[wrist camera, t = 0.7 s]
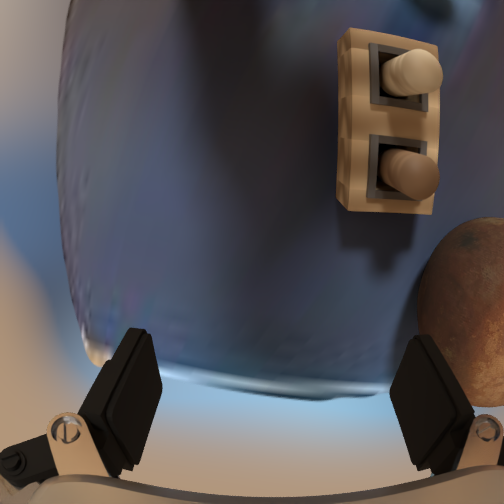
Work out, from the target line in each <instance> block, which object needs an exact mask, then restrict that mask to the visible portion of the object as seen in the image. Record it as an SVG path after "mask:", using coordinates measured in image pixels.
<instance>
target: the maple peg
mask: <svg viewBox="0 0 504 504" xmlns="http://www.w3.org/2000/svg"><path fill="white" fill-rule="evenodd" d="M442 80H443V73H442V69H441V66H440V64H439V62H438V60H437V59H436V58H435V57H434V56H433V55H432V54H431V53H429V52H428V51H425V50H422V49H414V50H411V51H409V52H407V53H404V54H402V55H400V56H398V57H395V58H393V59H391V60H389V61H387V62H385V63H383V64H382V65H381V66H380V67H379V84H380V86H381V88H382V89H383V90H384V91H385V92H386V93H387V94H389V95H391V96H394V97H402V96H409V95H416V94H424V93H431V92H434V91H436V90H437V89H438V88H439V87H440V86H441V84H442Z"/></svg>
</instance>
